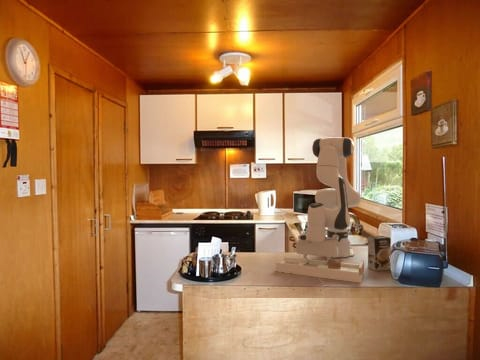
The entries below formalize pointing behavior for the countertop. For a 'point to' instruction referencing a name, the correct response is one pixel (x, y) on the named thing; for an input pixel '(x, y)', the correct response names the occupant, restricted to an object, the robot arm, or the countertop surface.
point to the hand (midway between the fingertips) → (316, 264)
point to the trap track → (321, 269)
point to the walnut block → (334, 264)
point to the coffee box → (379, 252)
